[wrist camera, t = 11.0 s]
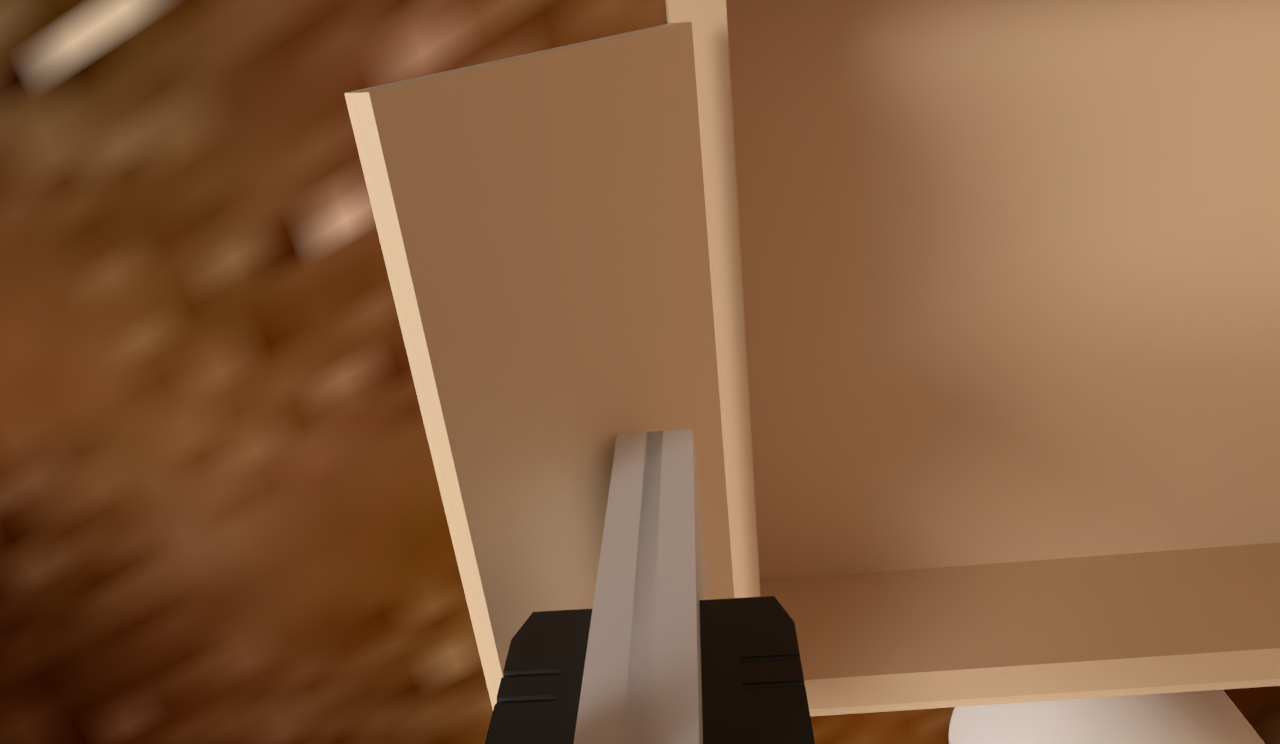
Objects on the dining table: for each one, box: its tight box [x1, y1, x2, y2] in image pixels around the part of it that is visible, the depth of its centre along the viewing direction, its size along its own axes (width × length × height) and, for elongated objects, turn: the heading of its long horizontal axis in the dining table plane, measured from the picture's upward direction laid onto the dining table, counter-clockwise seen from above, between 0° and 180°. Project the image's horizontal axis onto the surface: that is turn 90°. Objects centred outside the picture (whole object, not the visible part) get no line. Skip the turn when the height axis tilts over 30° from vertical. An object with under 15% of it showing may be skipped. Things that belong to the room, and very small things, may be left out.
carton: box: [665, 0, 1280, 716], centre depth 20 cm, size 19×17×4 cm
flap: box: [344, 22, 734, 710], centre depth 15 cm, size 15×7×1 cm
